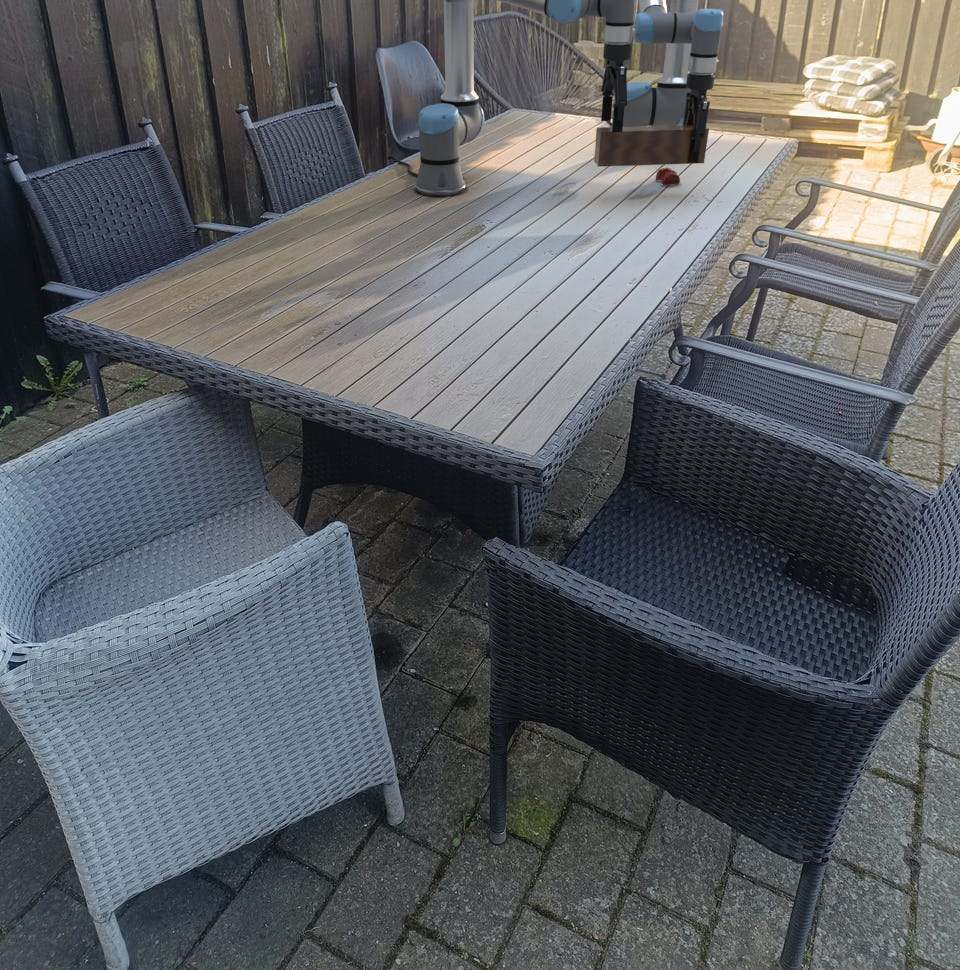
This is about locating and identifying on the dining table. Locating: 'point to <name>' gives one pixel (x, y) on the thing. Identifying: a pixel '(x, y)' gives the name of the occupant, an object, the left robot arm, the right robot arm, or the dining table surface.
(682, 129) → the bar
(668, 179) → the dark red rounded lump
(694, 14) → the right robot arm
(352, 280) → the dining table surface
